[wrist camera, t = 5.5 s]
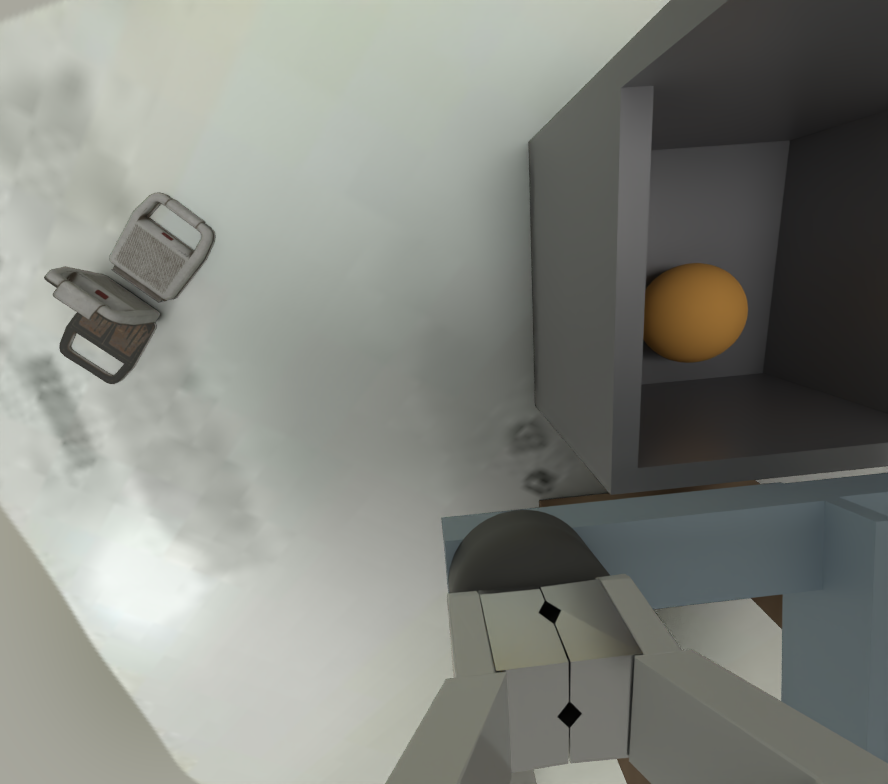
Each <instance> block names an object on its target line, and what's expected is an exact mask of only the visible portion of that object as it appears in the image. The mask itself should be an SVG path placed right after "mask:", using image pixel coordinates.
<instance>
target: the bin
mask: <svg viewBox="0 0 888 784" xmlns="http://www.w3.org/2000/svg"><path fill="white" fill-rule="evenodd" d="M529 175H530V217H531V259H532V300H533V342H534V383H535V406H536V407H537V408H538V409H539V411H540V412H541V413H542V414H543V415H544V417H545V418H546V419H547V420H548V421H549V422H550V424H551V425H552V426H553V427H554V428H555V430H556V431H557V432H558V433H559V434H560V435H561V437H562V438H563V439H564V440H565V441H566V443H567V444H568V445H569V446H570V447H571V448H572V450H573V451H574V452H575V453H576V454H577V456H578V457H579V458H580V459H581V460H582V461H583V463H584V464H585V465H586V466H587V467H588V469H589V470H590V471H591V472H592V473H593V474H594V476H595V477H596V478H597V479H598V480H599V482H600V483H601V484H602V485H603V486H604V487H605V489H606V490H607V491H608V492H609V493H610V494H611V495H615V494H625V493H635V492H644V491H654V490H663V489H673V488H682V487H692V486H702V485H711V484H721V483H730V482H740V481H749V480H759V479H769V478H778V477H788V476H797V475H807V474H816V473H826V472H836V471H845V470H855V469H864V468H874V467H883V466H888V0H670V1H669V2H668V3H667V4H666V5H665V6H664V7H663V8H662V9H661V10H660V11H659V12H658V13H657V14H656V15H655V16H654V17H653V18H652V19H651V20H650V21H649V22H648V23H647V24H646V25H645V26H644V27H643V28H642V29H641V30H640V31H639V32H638V33H637V34H636V35H635V36H634V37H633V38H632V39H631V40H630V41H629V42H628V43H627V44H626V45H625V46H624V47H623V48H622V49H621V50H620V51H619V52H618V53H617V54H616V55H615V56H614V57H613V58H612V59H611V60H610V61H609V62H608V63H607V64H606V65H605V66H604V67H603V68H602V69H601V70H600V71H599V72H598V73H597V74H596V75H595V76H594V77H593V78H592V79H591V80H590V81H589V82H588V83H587V84H586V85H585V86H584V87H583V88H582V89H581V90H580V91H579V92H578V93H577V94H576V95H575V96H574V97H573V98H572V99H571V100H570V101H569V102H568V103H567V104H566V105H565V106H564V107H563V108H562V109H561V110H560V111H559V112H558V113H557V114H556V115H555V116H554V117H553V118H552V119H551V120H550V121H549V122H548V123H547V124H546V125H545V126H544V127H543V128H542V129H541V130H540V131H539V132H538V133H537V134H536V135H535V136H534V137H533V138H532V139H531V140H530V141H529ZM690 263H703V264H710V265H713V266H716V267H719V268H721V269H723V270H725V271H727V272H728V273H730V274H731V275H732V276H733V277H734V278H735V279H736V280H737V281H738V282H739V283H740V285H741V286H742V288H743V290H744V292H745V295H746V298H747V303H748V316H747V320H746V324H745V326H744V329H743V331H742V333H741V334H740V336H739V337H738V339H737V340H736V341H735V342H734V343H733V344H732V345H731V346H730V347H729V348H728V349H727V350H725V351H724V352H722V353H721V354H719V355H717V356H715V357H713V358H711V359H708V360H704V361H700V362H692V363H685V362H677V361H672V360H669V359H667V358H664V357H662V356H660V355H658V354H657V353H656V352H654V351H653V350H652V349H651V348H650V347H649V346H648V345H647V344H646V342H645V341H644V340H643V333H644V309H645V290H646V288H647V287H648V286H649V285H650V283H651V282H652V281H653V280H654V279H655V278H657V277H658V276H659V275H661V274H662V273H664V272H665V271H667V270H669V269H671V268H674V267H677V266H680V265H684V264H690Z"/></svg>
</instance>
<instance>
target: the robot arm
mask: <svg viewBox="0 0 888 784" xmlns="http://www.w3.org/2000/svg"><path fill="white" fill-rule="evenodd" d="M447 604H448V616H449V628H450V639H451V651H452V663H453V675H454V678H450V679H446V680H445V682H444V683H443V685H442V687H441V689H440V690H439V692H438V694H437V695H436V697H435V699H434V701H433V702H432V704H431V706H430V707H429V709H428V711H427V713H426V714H425V716H424V718H423V720H422V721H421V723H420V725H419V726H418V728H417V730H416V732H415V733H414V735H413V737H412V739H411V740H410V742H409V744H408V745H407V747H406V749H405V751H404V752H403V754H402V756H401V757H400V759H399V761H398V763H397V764H396V766H395V768H394V770H393V771H392V773H391V775H390V776H389V778H388V780H387V782H386V783H385V784H510V782H511V778H512V773H514V772H520V771H526V770H532V769H538V768H544V767H550V766H556V765H562V764H568V758H569V761H570V763H579V762H589V761H599V760H610V759H620V758H629V762H630V763H631V764H632V765H633V766H634V767H635V768H636V769H637V770H638V771H639V772H640V773H641V774H642V775H643V776H644V777H645V778H646V779H647V780H648V781H649V782H650V783H651V784H888V763H886V762H885V761H883V760H881V759H879V758H878V757H876V756H874V755H872V754H871V753H869V752H867V751H866V750H864V749H862V748H860V747H859V746H857V745H855V744H854V743H852V742H850V741H848V740H847V739H845V738H843V737H842V736H840V735H838V734H836V733H835V732H833V731H831V730H830V729H828V728H826V727H824V726H823V725H821V724H819V723H818V722H816V721H814V720H812V719H811V718H809V717H807V716H805V715H804V714H802V713H800V712H799V711H797V710H795V709H793V708H792V707H790V706H788V705H787V704H785V703H783V702H781V701H780V700H778V699H776V698H775V697H773V696H771V695H769V694H768V693H766V692H764V691H763V690H761V689H759V688H757V687H756V686H754V685H752V684H751V683H749V682H747V681H745V680H744V679H742V678H740V677H738V676H737V675H735V674H733V673H732V672H730V671H728V670H726V669H725V668H723V667H721V666H720V665H718V664H716V663H714V662H713V661H711V660H709V659H708V658H706V657H704V656H702V655H701V654H699V653H697V652H696V651H694V650H692V649H691V650H681V648H680V647H679V645H678V644H677V642H676V641H675V640H674V638H673V637H672V635H671V634H670V633H669V631H668V630H667V628H666V627H665V625H664V624H663V623H662V621H661V620H660V618H659V617H658V616H657V614H656V613H655V611H654V610H653V608H652V607H651V606H650V604H649V603H648V601H647V600H646V599H645V597H644V596H643V594H642V593H641V591H640V590H639V589H638V587H637V586H636V584H635V583H634V582H633V580H632V579H631V577H629V576H628V575H626V574H619V575H611V576H604V577H597V578H595V579H587V580H578V581H570V582H561V583H553V584H544V585H534V586H522V587H511V588H499V589H488V590H478V593H477V591H470V592H459V593H449V594H447Z"/></svg>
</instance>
